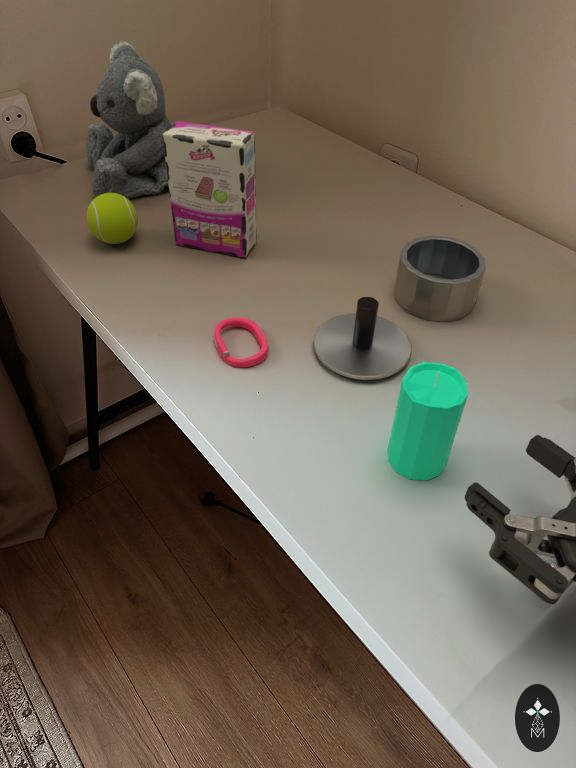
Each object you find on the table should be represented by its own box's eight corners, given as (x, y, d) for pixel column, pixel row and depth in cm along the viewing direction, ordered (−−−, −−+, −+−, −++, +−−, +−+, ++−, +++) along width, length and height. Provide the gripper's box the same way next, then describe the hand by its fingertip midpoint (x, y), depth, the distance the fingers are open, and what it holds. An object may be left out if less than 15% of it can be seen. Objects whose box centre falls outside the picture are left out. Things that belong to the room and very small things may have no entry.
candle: (414, 426, 68) (434, 340, 60) (458, 460, 65) (486, 375, 56) (374, 453, 65) (390, 368, 57) (419, 491, 62) (443, 406, 53)
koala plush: (86, 160, 111) (60, 36, 97) (188, 148, 115) (177, 29, 101) (95, 208, 99) (68, 76, 85) (209, 193, 103) (200, 65, 89)
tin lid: (389, 314, 82) (397, 267, 77) (425, 374, 74) (436, 327, 69) (302, 327, 79) (304, 280, 74) (329, 391, 71) (334, 343, 66)
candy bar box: (258, 241, 93) (257, 130, 82) (246, 259, 90) (243, 146, 78) (187, 228, 95) (177, 118, 84) (173, 245, 92) (160, 133, 80)
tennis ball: (98, 257, 89) (88, 212, 84) (86, 233, 94) (77, 189, 89) (146, 246, 91) (139, 202, 87) (133, 223, 96) (126, 180, 91)
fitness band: (207, 330, 78) (207, 321, 77) (252, 320, 80) (252, 311, 79) (228, 373, 73) (227, 363, 72) (275, 361, 75) (275, 351, 74)
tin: (453, 269, 89) (462, 231, 85) (488, 315, 82) (500, 276, 78) (382, 278, 87) (388, 240, 83) (412, 326, 80) (420, 287, 76)
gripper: (606, 686, 46) (437, 532, 55) (702, 576, 52) (537, 454, 61) (650, 642, 41) (455, 479, 49) (750, 525, 47) (562, 399, 56)
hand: (500, 465), depth 55 cm, fingers open, 8 cm apart
